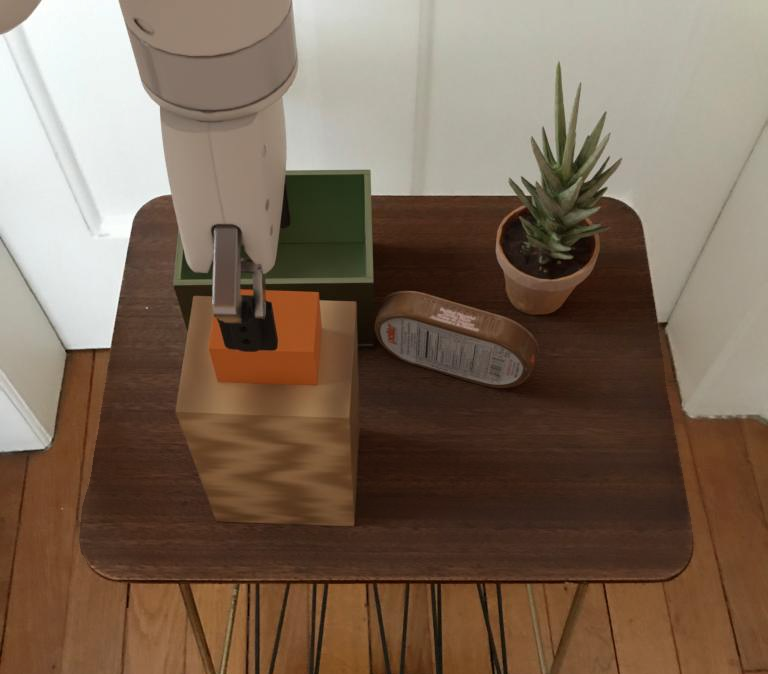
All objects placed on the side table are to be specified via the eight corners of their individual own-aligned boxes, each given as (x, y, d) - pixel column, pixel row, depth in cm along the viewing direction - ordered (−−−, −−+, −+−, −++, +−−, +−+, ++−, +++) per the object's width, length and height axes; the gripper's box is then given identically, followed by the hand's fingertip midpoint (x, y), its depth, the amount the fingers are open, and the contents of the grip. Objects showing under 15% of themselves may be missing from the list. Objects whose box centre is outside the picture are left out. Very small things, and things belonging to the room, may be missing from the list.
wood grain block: (216, 521, 78) (175, 411, 62) (228, 422, 82) (193, 295, 66) (354, 526, 78) (349, 417, 62) (359, 427, 82) (356, 301, 66)
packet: (217, 382, 63) (207, 348, 59) (225, 324, 65) (216, 288, 61) (317, 386, 63) (314, 352, 59) (322, 327, 65) (318, 291, 61)
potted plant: (487, 252, 91) (524, 30, 69) (580, 255, 91) (648, 35, 69) (488, 332, 87) (528, 124, 65) (586, 336, 87) (660, 128, 65)
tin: (531, 377, 85) (547, 321, 77) (523, 403, 83) (538, 350, 76) (381, 333, 87) (382, 275, 79) (370, 358, 85) (370, 302, 78)
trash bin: (373, 348, 86) (373, 282, 77) (193, 351, 86) (173, 285, 77) (370, 241, 92) (370, 169, 83) (201, 244, 91) (183, 171, 83)
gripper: (159, -81, 45) (216, 179, 61) (101, 174, 38) (182, 396, 53) (308, -77, 45) (327, 182, 60) (279, 179, 38) (309, 400, 53)
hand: (259, 282), depth 57 cm, fingers open, 9 cm apart
